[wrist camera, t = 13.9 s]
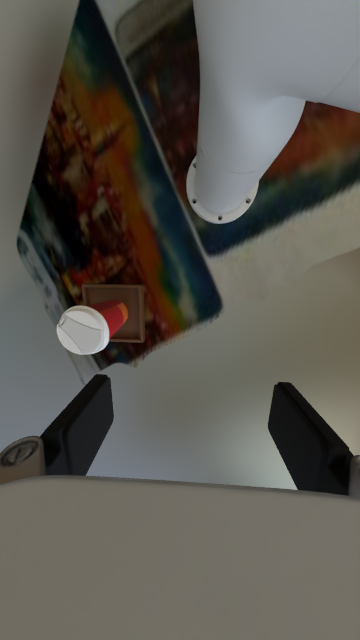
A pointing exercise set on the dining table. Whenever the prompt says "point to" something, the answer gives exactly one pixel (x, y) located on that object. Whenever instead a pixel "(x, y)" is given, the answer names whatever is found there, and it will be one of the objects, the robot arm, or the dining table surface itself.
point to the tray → (130, 297)
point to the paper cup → (91, 326)
